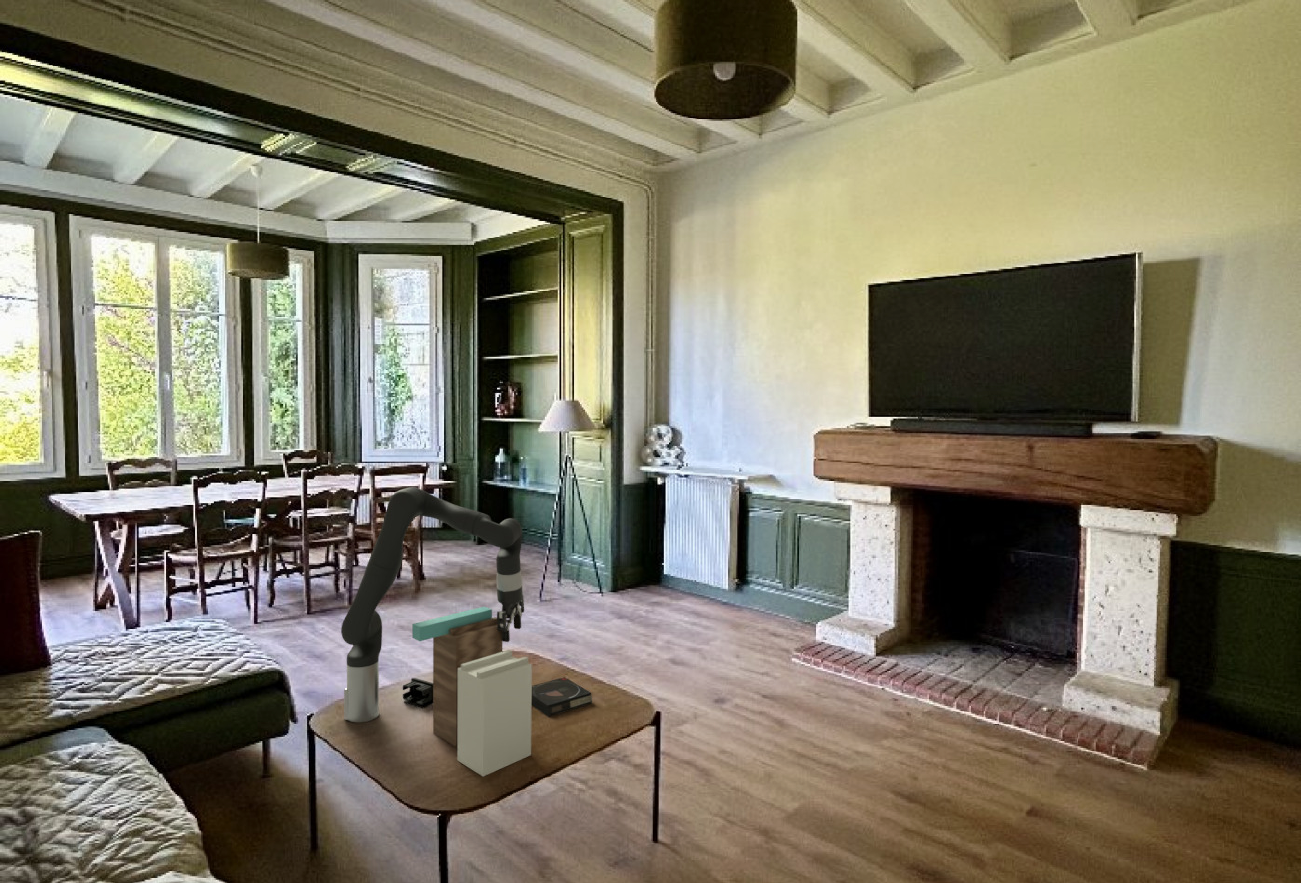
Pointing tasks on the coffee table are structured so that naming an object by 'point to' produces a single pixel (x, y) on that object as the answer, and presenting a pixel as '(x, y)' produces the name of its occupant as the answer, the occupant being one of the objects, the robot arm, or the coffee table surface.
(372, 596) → the robot arm
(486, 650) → the walnut plinth
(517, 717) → the grey plinth
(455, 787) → the coffee table surface
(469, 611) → the teal bar
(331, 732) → the coffee table surface
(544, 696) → the portable cd player
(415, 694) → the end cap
